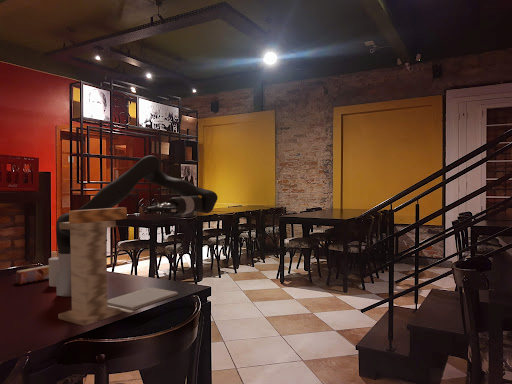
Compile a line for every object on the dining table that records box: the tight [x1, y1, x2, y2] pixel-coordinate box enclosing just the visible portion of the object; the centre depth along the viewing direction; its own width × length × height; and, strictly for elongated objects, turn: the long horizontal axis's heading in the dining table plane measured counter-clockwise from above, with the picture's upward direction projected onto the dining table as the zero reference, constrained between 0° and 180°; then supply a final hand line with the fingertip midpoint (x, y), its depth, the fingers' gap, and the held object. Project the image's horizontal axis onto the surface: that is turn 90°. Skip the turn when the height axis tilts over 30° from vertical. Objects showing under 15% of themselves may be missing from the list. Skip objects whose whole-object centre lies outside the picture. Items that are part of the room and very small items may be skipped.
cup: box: [48, 256, 58, 288], centre depth 176 cm, size 8×8×12 cm
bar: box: [68, 207, 128, 223], centre depth 135 cm, size 20×4×4 cm, turn 148°
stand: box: [57, 220, 122, 327], centre depth 131 cm, size 14×14×32 cm
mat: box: [107, 286, 179, 311], centre depth 150 cm, size 23×16×1 cm
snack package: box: [15, 264, 49, 285], centre depth 186 cm, size 21×7×7 cm, turn 141°
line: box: [107, 305, 135, 314], centre depth 139 cm, size 2×20×1 cm, turn 58°
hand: (147, 210), depth 150 cm, fingers closed
